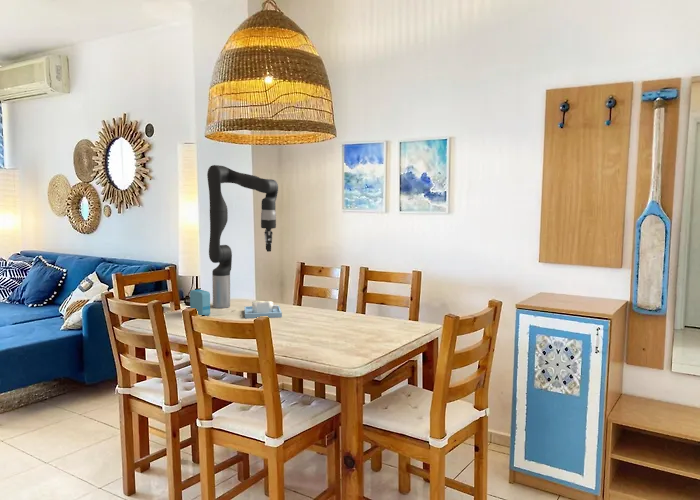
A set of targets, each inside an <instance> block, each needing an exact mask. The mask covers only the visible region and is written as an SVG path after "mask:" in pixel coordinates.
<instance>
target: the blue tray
mask: <svg viewBox="0 0 700 500" xmlns="http://www.w3.org/2000/svg"><path fill="white" fill-rule="evenodd" d="M243 311H244V318H245V319H257V318H256V317H260V316H268V317H270V318H269V319H271V318H283V312H282V310H281V307H280V305H278V309H273V312H271V313H253V312H252V305H250V306H249V305H248V306H247V305H246V306H244V310H243Z"/></svg>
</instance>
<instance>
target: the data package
mask: <svg viewBox="0 0 700 500" xmlns="http://www.w3.org/2000/svg"><path fill="white" fill-rule="evenodd" d="M190 308H196V309H197V311H198V314H199V315H205V316H204V317H207V316H210V315H211V293H210V291H207V290H203V289H200V288H199V289H191V290H190V292H189V309H190Z"/></svg>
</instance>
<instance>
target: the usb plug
mask: <svg viewBox="0 0 700 500" xmlns="http://www.w3.org/2000/svg"><path fill="white" fill-rule="evenodd" d="M251 306H252V312H253V313H271V312H273V309H278V306H279V305H278V304H274V302H273V301H271V300H270V301H268V300H265V301H260V300H259V301H252V305H251Z"/></svg>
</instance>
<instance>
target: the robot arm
mask: <svg viewBox="0 0 700 500" xmlns="http://www.w3.org/2000/svg"><path fill="white" fill-rule="evenodd" d="M206 176H207V184H208V194H209V195H208V196H209V231H210V232H209V244H208V245H209V246H208V255H209V256H208V257H209V260H210V262H212V263H214V264H218V265H217V266H216V267H214V269H212V270H211V271H212V273H211V274H212V277H211V278H212V307H213V308H215V309H224V308H229V307H231V270H232V264H233V263H232V262H233V261H232V258H233V254H232V253H233V250H232V249H231V247H230V246H229V245H228V244H221V237H222V233H223V232H224V230H225V227H226V226H227V223H228V219H229V217H228V216H229V215H228V212H229V211H228V206H227V202H226V201H225V199H224V197H223V194H222V188H221V186H222V184H225V183H226V184H229V183H230V184H234V185H235V184H236V185H238V186H240V187H242V188H246V189H250V190H252V191H253V190H254V191H257V192H259V193H262V194H265V197H264V198H262V199H261V210H260V211H261V212H260V228H261V229H265V231H264V232H263V233H264V240H265V241H264V242H265V250H266V252H271V251H272V244H273V235H274V234H273V231H272V229H276V227H277V213H276V201H277V197H278V193H279V183H278V182H277V181H276V180H275V179H270V178H269V179H268V178H261V177H259V176H256V175H252V174H249V173H244V172H243V173H242V172H239V171H236V170H233V169H231V168H229V167H227V166H224V165H217V164H212V165H210V166H209V167H208V170H207V175H206Z"/></svg>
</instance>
